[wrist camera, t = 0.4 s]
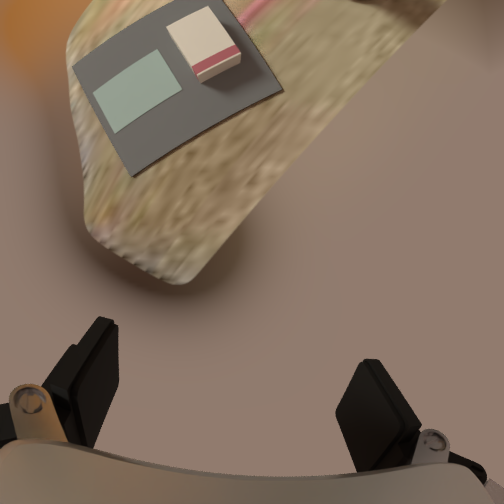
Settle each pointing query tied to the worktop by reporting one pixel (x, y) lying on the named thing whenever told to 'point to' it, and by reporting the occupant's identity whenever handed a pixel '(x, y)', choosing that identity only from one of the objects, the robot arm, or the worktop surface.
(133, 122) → the mat
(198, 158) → the worktop surface
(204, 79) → the card box
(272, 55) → the worktop surface
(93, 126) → the worktop surface
